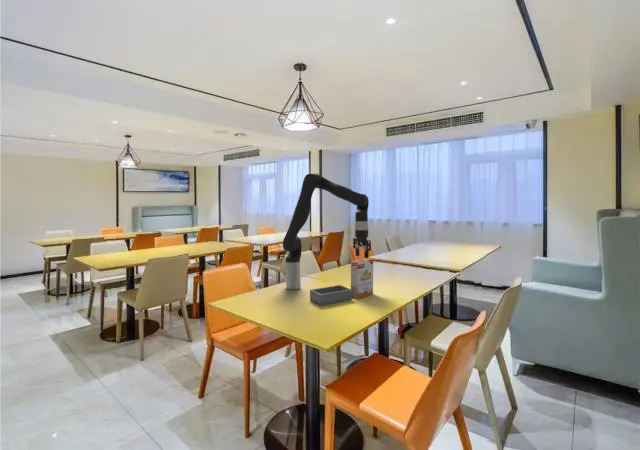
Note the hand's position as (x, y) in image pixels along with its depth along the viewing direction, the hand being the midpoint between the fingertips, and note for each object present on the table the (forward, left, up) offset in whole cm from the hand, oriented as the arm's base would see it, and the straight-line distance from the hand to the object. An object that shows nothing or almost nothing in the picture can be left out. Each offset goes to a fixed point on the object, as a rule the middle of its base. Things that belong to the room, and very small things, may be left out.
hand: (361, 257), depth 193 cm
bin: (-2, -20, -23) cm, 30 cm away
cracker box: (0, 0, -23) cm, 23 cm away
